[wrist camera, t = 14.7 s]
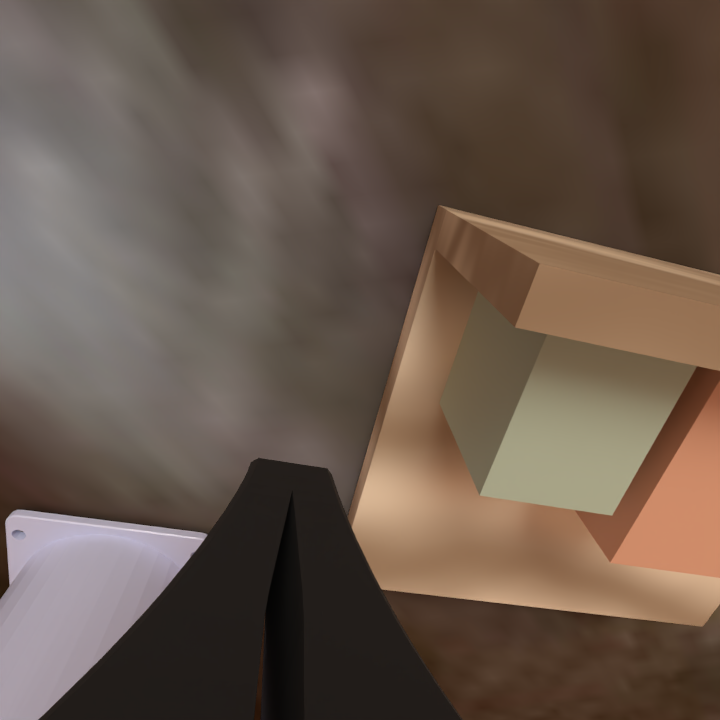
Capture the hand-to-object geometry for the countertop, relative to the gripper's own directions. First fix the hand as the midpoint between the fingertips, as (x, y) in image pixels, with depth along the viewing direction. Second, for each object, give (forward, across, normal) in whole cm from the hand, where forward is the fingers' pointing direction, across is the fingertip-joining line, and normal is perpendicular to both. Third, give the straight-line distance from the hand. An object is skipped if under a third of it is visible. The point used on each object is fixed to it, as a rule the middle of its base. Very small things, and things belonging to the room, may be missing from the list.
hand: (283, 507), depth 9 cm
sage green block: (+8, -7, -1) cm, 11 cm away
